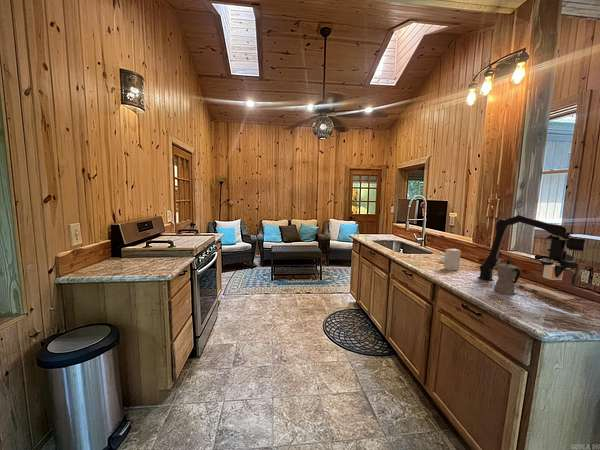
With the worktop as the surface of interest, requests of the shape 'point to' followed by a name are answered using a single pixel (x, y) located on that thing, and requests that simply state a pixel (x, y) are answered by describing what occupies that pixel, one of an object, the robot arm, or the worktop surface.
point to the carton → (551, 273)
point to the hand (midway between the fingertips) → (552, 276)
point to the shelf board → (543, 291)
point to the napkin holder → (442, 259)
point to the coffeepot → (506, 278)
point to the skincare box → (452, 259)
